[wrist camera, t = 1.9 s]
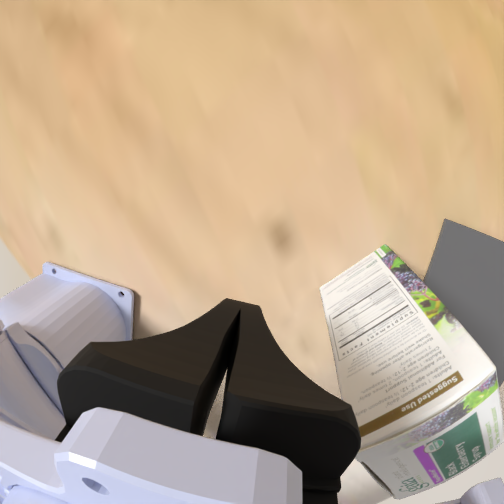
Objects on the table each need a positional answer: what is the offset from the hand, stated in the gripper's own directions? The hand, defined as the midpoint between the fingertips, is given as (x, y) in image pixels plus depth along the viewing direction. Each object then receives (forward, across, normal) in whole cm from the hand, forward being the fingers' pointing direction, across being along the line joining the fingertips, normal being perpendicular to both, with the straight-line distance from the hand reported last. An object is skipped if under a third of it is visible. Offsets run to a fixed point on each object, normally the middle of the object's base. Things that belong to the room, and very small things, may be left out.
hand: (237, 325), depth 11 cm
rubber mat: (+10, -20, +2) cm, 23 cm away
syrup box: (+10, -8, +2) cm, 14 cm away
